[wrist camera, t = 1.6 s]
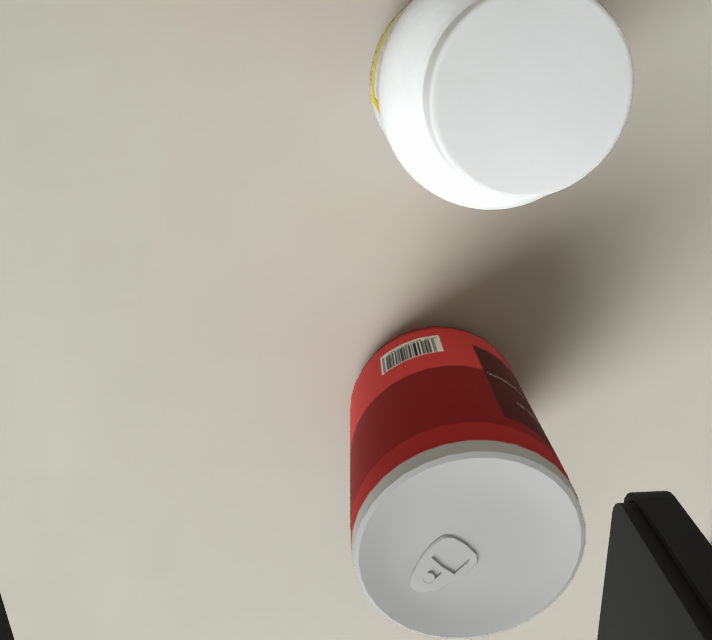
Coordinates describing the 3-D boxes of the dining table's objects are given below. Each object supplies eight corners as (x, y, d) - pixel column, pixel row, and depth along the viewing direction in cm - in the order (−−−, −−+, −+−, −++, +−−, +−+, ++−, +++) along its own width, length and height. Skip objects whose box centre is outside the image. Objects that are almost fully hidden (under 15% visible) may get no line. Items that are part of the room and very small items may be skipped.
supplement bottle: (552, 128, 28) (706, 182, 16) (402, 188, 29) (442, 282, 17) (504, -40, 26) (643, -125, 14) (343, 30, 26) (341, 8, 14)
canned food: (323, 430, 33) (312, 598, 23) (398, 292, 30) (424, 411, 20) (458, 488, 34) (506, 671, 24) (542, 360, 32) (635, 504, 22)
